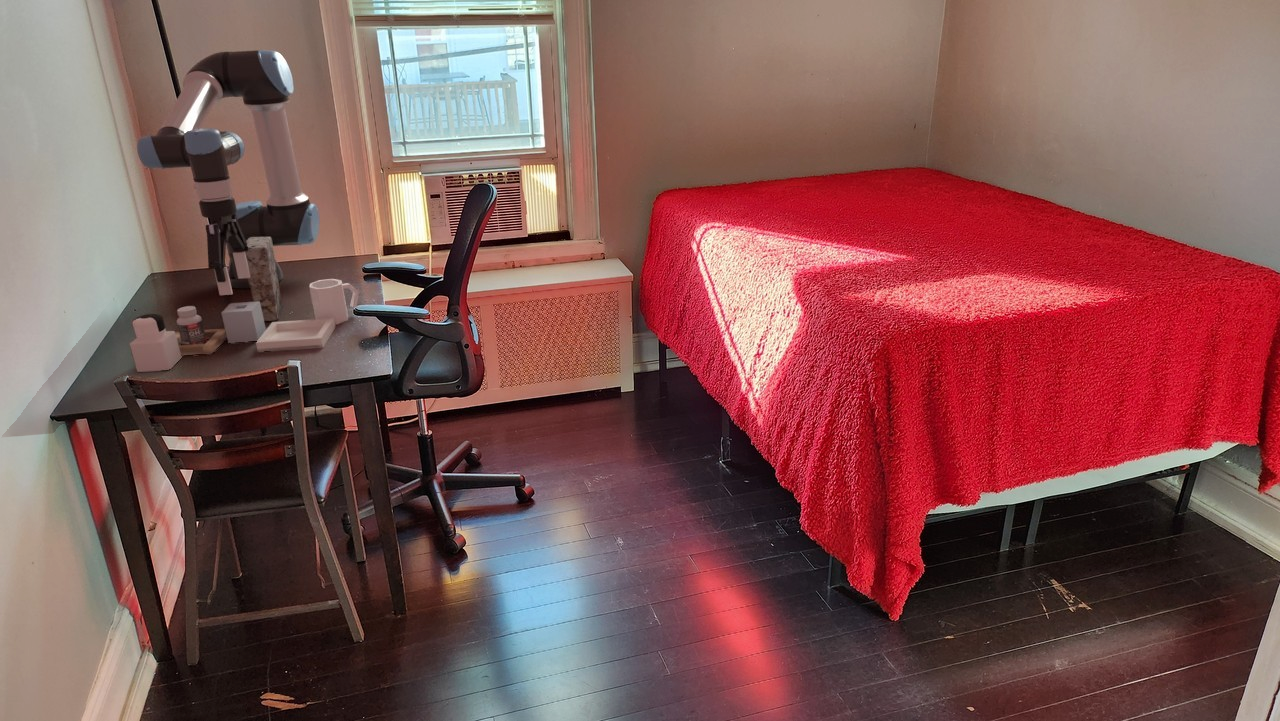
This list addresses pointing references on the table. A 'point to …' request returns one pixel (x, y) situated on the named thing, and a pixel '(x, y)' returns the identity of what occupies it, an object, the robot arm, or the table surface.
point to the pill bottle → (190, 326)
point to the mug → (331, 299)
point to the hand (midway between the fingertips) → (235, 286)
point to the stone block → (264, 277)
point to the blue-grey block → (243, 322)
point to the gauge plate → (214, 341)
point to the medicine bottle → (154, 344)
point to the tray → (296, 335)
